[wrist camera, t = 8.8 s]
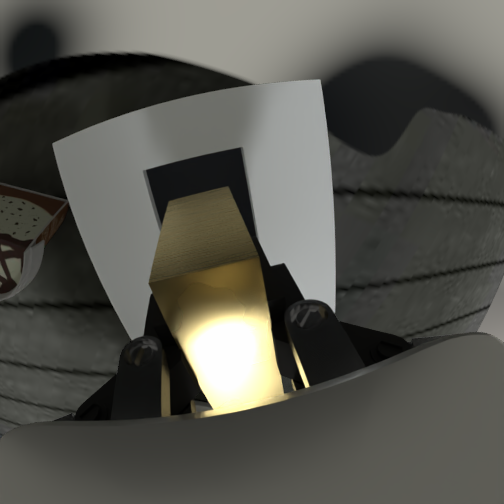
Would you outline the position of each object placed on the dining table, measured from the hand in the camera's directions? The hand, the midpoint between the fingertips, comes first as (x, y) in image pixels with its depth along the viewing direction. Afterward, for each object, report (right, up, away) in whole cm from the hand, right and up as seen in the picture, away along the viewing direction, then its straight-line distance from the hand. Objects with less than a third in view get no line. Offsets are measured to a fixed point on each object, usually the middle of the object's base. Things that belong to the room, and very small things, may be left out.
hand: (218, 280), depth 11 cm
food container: (-21, +4, +10) cm, 23 cm away
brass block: (0, +1, +2) cm, 2 cm away
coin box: (-3, +6, +13) cm, 14 cm away
